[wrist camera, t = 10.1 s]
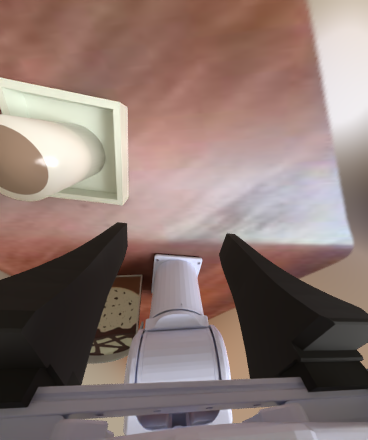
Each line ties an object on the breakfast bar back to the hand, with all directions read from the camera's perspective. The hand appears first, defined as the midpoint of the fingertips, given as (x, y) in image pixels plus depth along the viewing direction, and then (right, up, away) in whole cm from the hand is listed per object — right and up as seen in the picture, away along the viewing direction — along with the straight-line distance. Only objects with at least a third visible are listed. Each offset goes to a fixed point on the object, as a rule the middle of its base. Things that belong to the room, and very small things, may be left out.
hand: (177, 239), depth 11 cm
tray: (-11, +9, +6) cm, 15 cm away
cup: (-11, +9, +6) cm, 15 cm away
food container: (-12, -11, +17) cm, 24 cm away
